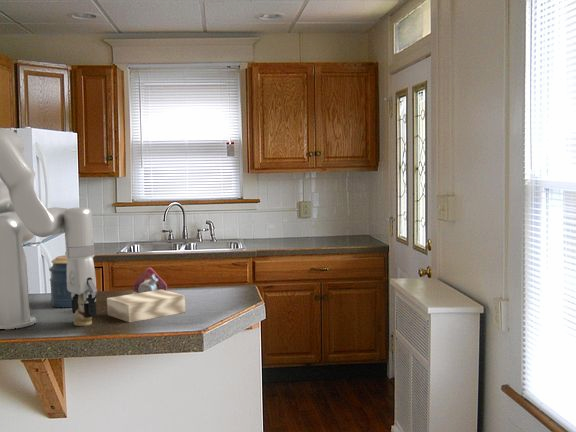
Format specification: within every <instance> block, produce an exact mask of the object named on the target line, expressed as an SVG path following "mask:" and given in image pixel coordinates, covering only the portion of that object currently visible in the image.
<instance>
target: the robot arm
mask: <svg viewBox="0 0 576 432" xmlns="http://www.w3.org/2000/svg"><path fill="white" fill-rule="evenodd" d="M24 148H25V144H24V141H23V138H22V137H21V136H20V135H19V134H18V133H17V132H15V131H13V130H9V129H3V128H0V180H1V181H0V329H5V330H14V329H15V328H16V329H21V328H26V327H29V326H32V325H35V324H34V323H37V318H36V317H35V316H31V315H30V314H31V313H30V298H29V297H30V296H29V295H30V293H29V281H28V280H29V279H28V268H27V267H28V266H27V265H28V264H27V257H26V253H25V252H26V251H25V249H24V244H25V243H26V242H29V241H31V240H32V239H33V238H34V237H35V236H36V237H38V238H47V237H51V236H55V235H58V234H59V235H60V234H63V233H64V243H65V252H66V259H67V290H68V291H69V292H71V299H72V307H71V310H72V311H71V313H72V314H75V312H76V310H78V309H79V304H78V296H79V295H81V294H83V297H84V300H85V303H84V314H85V318H89V317H92V318H94V317H95V318H96V316H97V292H98V289H97V279H96V270H95V264H94V263H95V262H94V257H95V244H94V243H95V242H94V229H93V212H92V210H91V208H89V207H85V206H84V207H83V206H82V207H70V208H67V207H65V208H64V207H55V206H54V207H47V208H46V206H45V205H44V204H43V202H42V201H41V200H40V198H39V197H38V195H37V194H36V193H37V192H36V191H35V188H34V187H35V186H34V181H35V177H36V176H35V175H36V172H35V169H33V167H32V166H31V165H30V163H29V161H28V160H27V159H26V158H25V157H24V155H23V153H24ZM85 291H88V292H85ZM87 295H89V296H88V298H87ZM16 329H15V330H16Z"/></svg>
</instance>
